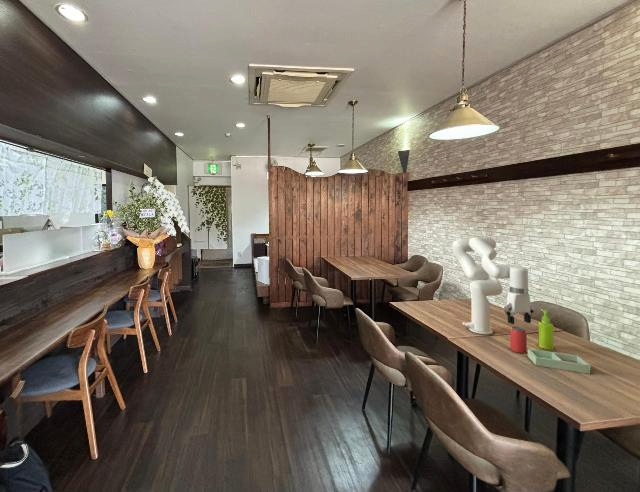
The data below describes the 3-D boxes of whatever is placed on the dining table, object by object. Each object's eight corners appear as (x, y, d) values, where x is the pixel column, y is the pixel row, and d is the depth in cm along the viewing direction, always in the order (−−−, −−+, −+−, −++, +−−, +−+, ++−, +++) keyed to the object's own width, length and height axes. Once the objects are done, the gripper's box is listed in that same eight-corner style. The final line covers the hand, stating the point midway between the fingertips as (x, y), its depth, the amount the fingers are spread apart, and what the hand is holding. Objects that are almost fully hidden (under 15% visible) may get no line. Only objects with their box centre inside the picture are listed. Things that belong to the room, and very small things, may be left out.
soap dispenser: (548, 345, 159) (548, 309, 158) (555, 350, 152) (555, 313, 152) (535, 343, 161) (535, 308, 160) (542, 349, 154) (542, 312, 154)
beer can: (529, 354, 148) (529, 331, 148) (515, 353, 150) (515, 330, 149) (521, 348, 155) (521, 326, 155) (507, 347, 156) (507, 325, 156)
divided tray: (535, 365, 138) (535, 357, 137) (527, 355, 147) (527, 348, 147) (590, 373, 130) (590, 365, 130) (577, 363, 139) (577, 355, 139)
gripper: (526, 288, 156) (526, 319, 156) (497, 289, 154) (498, 321, 154) (540, 291, 149) (540, 324, 149) (510, 293, 147) (510, 326, 147)
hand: (519, 322), depth 152 cm, fingers open, 9 cm apart
